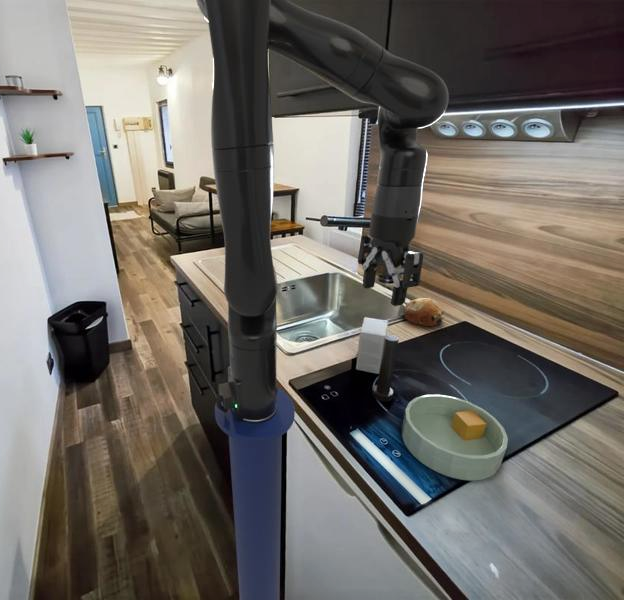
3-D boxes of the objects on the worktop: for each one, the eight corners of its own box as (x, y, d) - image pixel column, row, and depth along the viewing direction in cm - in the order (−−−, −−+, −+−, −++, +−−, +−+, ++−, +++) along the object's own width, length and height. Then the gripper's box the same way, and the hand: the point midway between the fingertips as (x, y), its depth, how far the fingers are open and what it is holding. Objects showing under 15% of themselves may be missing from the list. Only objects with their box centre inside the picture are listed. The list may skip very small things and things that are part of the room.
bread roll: (428, 322, 112) (425, 296, 112) (453, 323, 102) (450, 295, 102) (399, 326, 111) (396, 300, 111) (421, 328, 101) (418, 299, 101)
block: (463, 440, 65) (468, 426, 64) (450, 426, 69) (454, 412, 67) (482, 438, 66) (486, 423, 64) (468, 424, 69) (472, 410, 67)
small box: (359, 352, 93) (364, 316, 89) (383, 357, 91) (388, 320, 87) (355, 369, 87) (359, 331, 82) (380, 375, 85) (386, 336, 80)
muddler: (380, 403, 76) (390, 344, 70) (368, 392, 80) (376, 334, 73) (396, 399, 77) (407, 340, 71) (383, 387, 80) (392, 331, 74)
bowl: (446, 491, 57) (453, 469, 55) (384, 424, 71) (387, 404, 69) (522, 466, 61) (531, 444, 58) (449, 407, 74) (454, 387, 72)
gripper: (352, 205, 68) (344, 285, 75) (405, 221, 56) (389, 314, 63) (386, 202, 70) (375, 280, 77) (445, 216, 58) (426, 308, 64)
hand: (381, 295), depth 70 cm, fingers open, 8 cm apart
